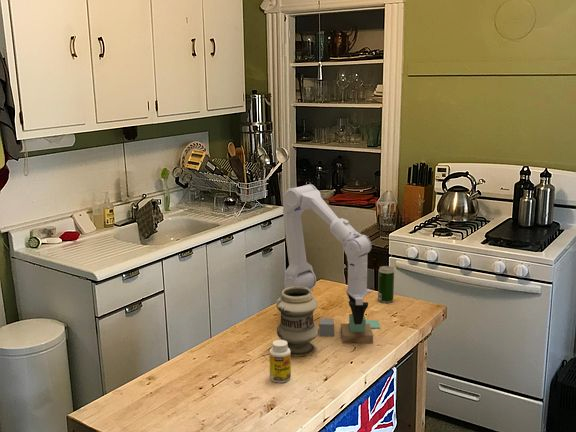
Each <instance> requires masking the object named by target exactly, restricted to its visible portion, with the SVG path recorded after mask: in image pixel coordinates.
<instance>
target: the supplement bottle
mask: <svg viewBox="0 0 576 432" xmlns="http://www.w3.org/2000/svg"><path fill="white" fill-rule="evenodd" d="M291 359H292V355H291V351H290V349H289V348H288V343H287V341H285V340H281V339H276V340H274V341H273V342H272V346H271V348H270V350H269V378H270V380H272V382H274V383H285V382H286V383H287V382H288V381H290V379H291V375H292V373H291V371H292V369H291V368H292V366H291Z"/></svg>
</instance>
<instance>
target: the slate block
mask: <svg viewBox="0 0 576 432" xmlns="http://www.w3.org/2000/svg"><path fill="white" fill-rule="evenodd" d="M318 335H319V337H334V336H335V321H334V318H328V317H327V318H318Z"/></svg>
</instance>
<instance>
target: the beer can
mask: <svg viewBox="0 0 576 432" xmlns="http://www.w3.org/2000/svg"><path fill="white" fill-rule="evenodd" d="M377 280H378V281H377V282H378V285H377V287H378V288H377V300H378V302H379V303H382V304H391V303H392V302H393V301H394V296H395V295H394V289H395V288H394V287H395V270H394V267H393V266H389V265H382V266H379V269H378V279H377Z"/></svg>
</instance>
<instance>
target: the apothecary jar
mask: <svg viewBox="0 0 576 432" xmlns="http://www.w3.org/2000/svg"><path fill="white" fill-rule="evenodd" d="M275 305H276V308H277V310H278V311H279V313H280V323H279V324H278V325H277V327H276V334H277V337H278V338H279V340H285V341H287V343H288V348H289V349H290V351H291V356H292V357H304V356H307V355H310V354H312V353H313V352H314V350H315V346H314V345H313V343H311V341H313V340H315V338H316V337H317V336H318V335H319V327H318V326H317V325H316V323H315V321H314V312H315V311H316V309H317V308H318V301H317V299H316V298H315V297H314V296H313V295H312V291H311V290H310V289H309V288H306V287H301V286H294V287H289V288H286V289H285V288H283V289H282V291H281V296H280V297H278V299H277V301H276V303H275Z"/></svg>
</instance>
